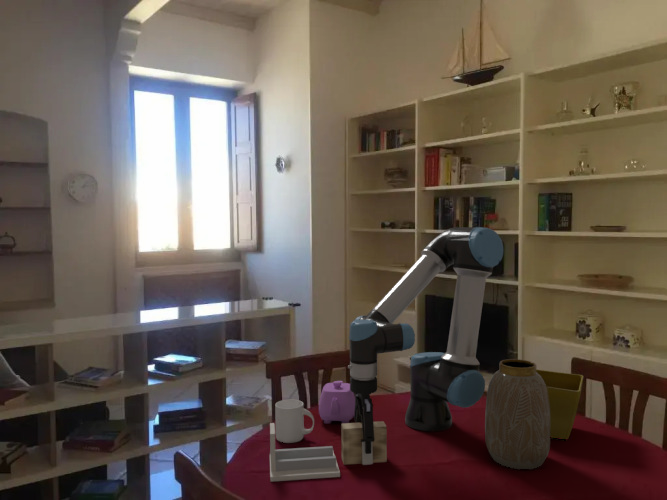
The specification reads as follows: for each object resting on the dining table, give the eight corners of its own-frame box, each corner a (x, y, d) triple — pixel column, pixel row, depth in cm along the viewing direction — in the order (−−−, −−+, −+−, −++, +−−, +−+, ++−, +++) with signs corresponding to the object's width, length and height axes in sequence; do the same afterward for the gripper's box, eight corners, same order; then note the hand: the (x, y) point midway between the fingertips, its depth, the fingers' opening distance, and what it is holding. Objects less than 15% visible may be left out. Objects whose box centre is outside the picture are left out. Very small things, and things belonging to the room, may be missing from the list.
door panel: (383, 455, 156) (383, 421, 156) (386, 462, 152) (386, 426, 151) (341, 458, 155) (341, 423, 154) (343, 464, 150) (343, 429, 150)
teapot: (322, 408, 195) (322, 373, 194) (357, 409, 194) (357, 374, 193) (314, 430, 175) (314, 390, 175) (353, 431, 174) (353, 391, 173)
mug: (311, 445, 164) (311, 409, 163) (272, 442, 166) (271, 407, 165) (317, 434, 172) (316, 400, 171) (279, 432, 174) (279, 398, 173)
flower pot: (582, 425, 177) (583, 374, 176) (578, 447, 160) (579, 390, 159) (521, 416, 186) (521, 367, 185) (511, 436, 169) (511, 382, 168)
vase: (548, 451, 158) (550, 358, 157) (551, 477, 142) (553, 374, 140) (486, 443, 164) (487, 353, 162) (482, 468, 147) (483, 369, 146)
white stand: (333, 454, 157) (332, 415, 157) (340, 476, 143) (339, 434, 143) (269, 458, 155) (269, 419, 154) (270, 481, 141) (269, 438, 140)
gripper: (343, 366, 163) (344, 440, 164) (357, 389, 140) (357, 475, 142) (368, 365, 164) (369, 439, 165) (385, 388, 141) (386, 473, 143)
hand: (363, 455), depth 153 cm, fingers open, 10 cm apart
